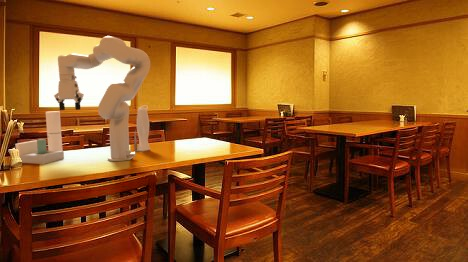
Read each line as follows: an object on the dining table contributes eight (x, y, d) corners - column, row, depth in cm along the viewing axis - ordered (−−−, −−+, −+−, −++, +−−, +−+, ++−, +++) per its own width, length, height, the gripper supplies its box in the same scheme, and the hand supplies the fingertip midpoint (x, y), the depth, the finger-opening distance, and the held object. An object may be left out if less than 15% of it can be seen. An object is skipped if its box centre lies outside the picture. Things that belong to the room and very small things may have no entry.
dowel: (48, 157, 169) (47, 139, 168) (42, 159, 165) (41, 140, 164) (42, 157, 170) (41, 139, 168) (36, 159, 166) (34, 140, 165)
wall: (42, 157, 176) (40, 140, 175) (20, 163, 162) (18, 143, 161) (39, 157, 176) (37, 140, 175) (17, 163, 163) (15, 143, 161)
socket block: (64, 158, 173) (63, 151, 172) (43, 163, 159) (42, 155, 159) (42, 157, 176) (41, 150, 175) (20, 162, 162) (19, 155, 162)
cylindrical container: (56, 155, 182) (53, 112, 180) (45, 155, 184) (42, 112, 181) (65, 153, 189) (62, 111, 186) (55, 153, 191) (52, 111, 188)
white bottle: (144, 148, 203) (142, 104, 200) (153, 150, 198) (151, 105, 195) (133, 150, 196) (131, 105, 193) (142, 152, 191) (140, 105, 188)
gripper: (85, 78, 176) (88, 109, 178) (58, 79, 179) (61, 110, 181) (77, 77, 168) (79, 109, 170) (48, 79, 172) (51, 110, 173)
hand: (70, 109), depth 175 cm, fingers open, 9 cm apart
